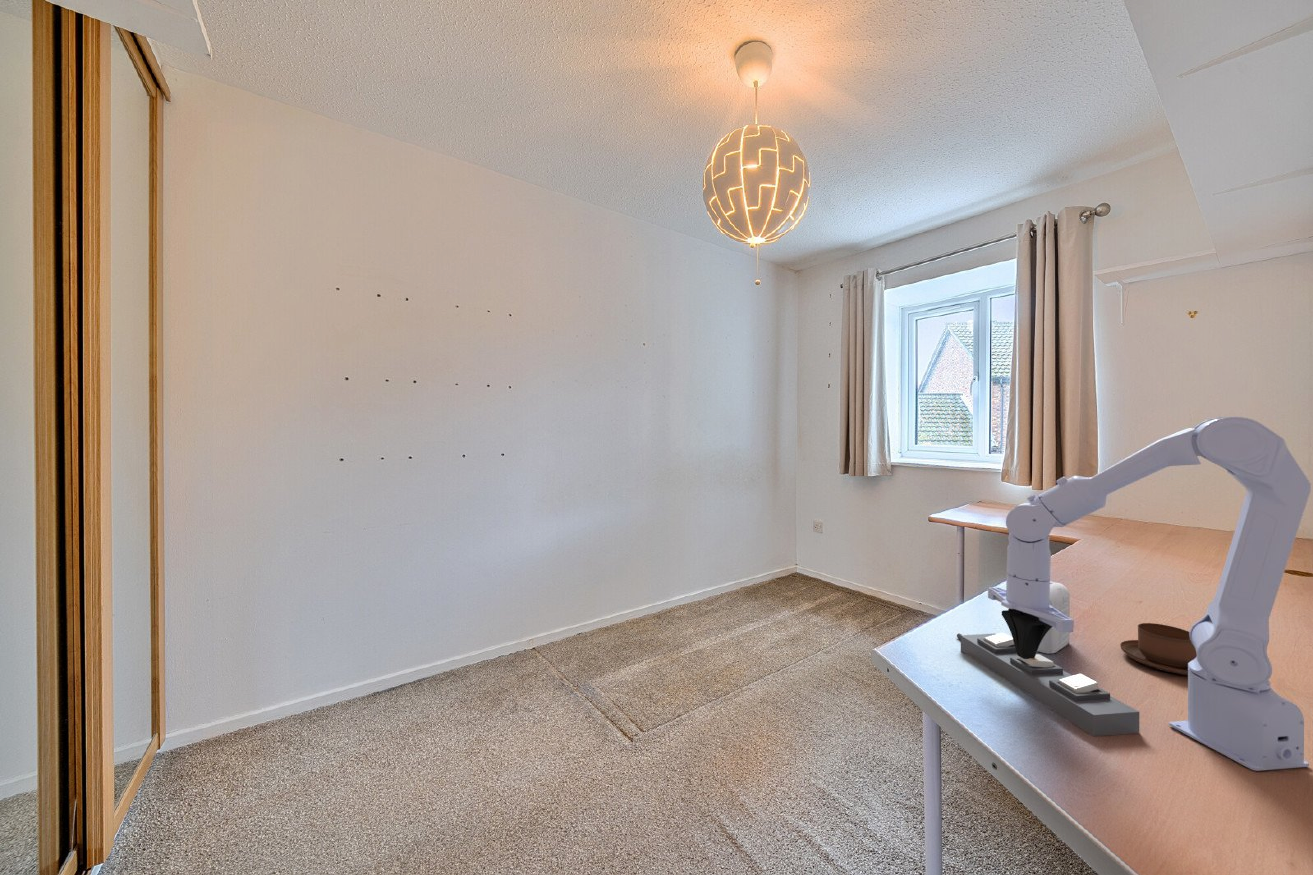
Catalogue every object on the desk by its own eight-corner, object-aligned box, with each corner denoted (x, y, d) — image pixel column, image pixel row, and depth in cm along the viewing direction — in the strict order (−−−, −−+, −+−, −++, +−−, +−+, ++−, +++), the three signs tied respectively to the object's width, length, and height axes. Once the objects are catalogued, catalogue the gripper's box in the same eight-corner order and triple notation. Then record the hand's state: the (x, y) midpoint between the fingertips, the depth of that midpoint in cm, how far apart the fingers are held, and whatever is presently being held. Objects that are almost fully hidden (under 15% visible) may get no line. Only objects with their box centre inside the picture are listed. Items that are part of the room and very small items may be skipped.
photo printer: (1046, 635, 99) (1046, 575, 99) (1073, 642, 95) (1072, 580, 95) (1026, 648, 93) (1025, 585, 93) (1053, 657, 90) (1053, 591, 90)
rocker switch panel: (1139, 732, 68) (1139, 705, 68) (1093, 736, 67) (1093, 709, 67) (973, 636, 99) (973, 618, 99) (941, 638, 98) (941, 619, 98)
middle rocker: (1052, 667, 79) (1053, 661, 79) (1032, 666, 79) (1033, 659, 79) (1038, 660, 82) (1039, 654, 82) (1019, 658, 81) (1019, 652, 81)
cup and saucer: (1182, 653, 91) (1182, 621, 91) (1239, 686, 79) (1239, 649, 79) (1105, 646, 94) (1105, 615, 94) (1149, 677, 82) (1149, 642, 82)
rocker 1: (1015, 643, 87) (1014, 638, 86) (997, 649, 86) (995, 643, 86) (1003, 637, 89) (1002, 632, 89) (985, 642, 89) (984, 637, 89)
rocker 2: (1098, 688, 72) (1097, 681, 72) (1076, 695, 71) (1075, 688, 71) (1081, 679, 74) (1080, 673, 74) (1060, 685, 74) (1059, 679, 74)
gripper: (972, 563, 87) (971, 637, 87) (1044, 591, 72) (1041, 680, 73) (1009, 562, 87) (1007, 636, 88) (1087, 590, 73) (1084, 678, 73)
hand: (1025, 656), depth 80 cm, fingers closed, pressing on middle rocker
